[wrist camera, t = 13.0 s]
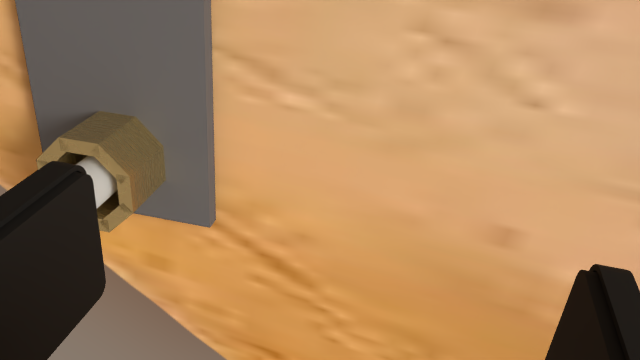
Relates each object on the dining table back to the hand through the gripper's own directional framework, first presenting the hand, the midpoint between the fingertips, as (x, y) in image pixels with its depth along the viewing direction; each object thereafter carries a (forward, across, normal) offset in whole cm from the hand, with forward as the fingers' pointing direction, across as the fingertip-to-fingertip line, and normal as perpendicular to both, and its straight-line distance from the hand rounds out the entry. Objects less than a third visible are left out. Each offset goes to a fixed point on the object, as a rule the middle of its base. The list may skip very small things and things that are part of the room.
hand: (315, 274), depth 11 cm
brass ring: (+27, +20, +14) cm, 37 cm away
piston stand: (+28, +20, +9) cm, 36 cm away
